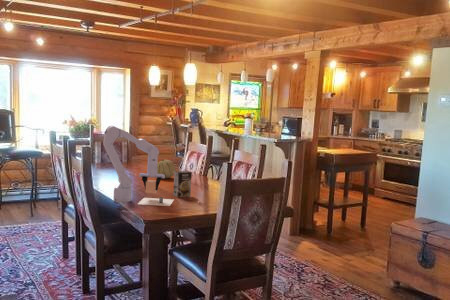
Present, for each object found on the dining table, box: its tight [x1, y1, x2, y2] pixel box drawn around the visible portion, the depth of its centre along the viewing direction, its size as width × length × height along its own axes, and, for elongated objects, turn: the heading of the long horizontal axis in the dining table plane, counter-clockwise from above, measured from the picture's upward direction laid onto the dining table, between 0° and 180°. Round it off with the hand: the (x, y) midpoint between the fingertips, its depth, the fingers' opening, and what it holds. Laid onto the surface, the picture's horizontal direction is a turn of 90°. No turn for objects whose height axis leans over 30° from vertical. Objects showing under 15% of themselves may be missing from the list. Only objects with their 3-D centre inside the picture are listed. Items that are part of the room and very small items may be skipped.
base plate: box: [137, 197, 175, 207], centre depth 243 cm, size 18×17×1 cm
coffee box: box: [172, 170, 192, 198], centre depth 263 cm, size 9×6×16 cm
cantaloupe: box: [157, 159, 176, 179], centre depth 328 cm, size 15×15×15 cm
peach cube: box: [144, 179, 158, 195], centre depth 248 cm, size 6×6×6 cm
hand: (151, 189), depth 248 cm, fingers closed on peach cube, 6 cm apart
